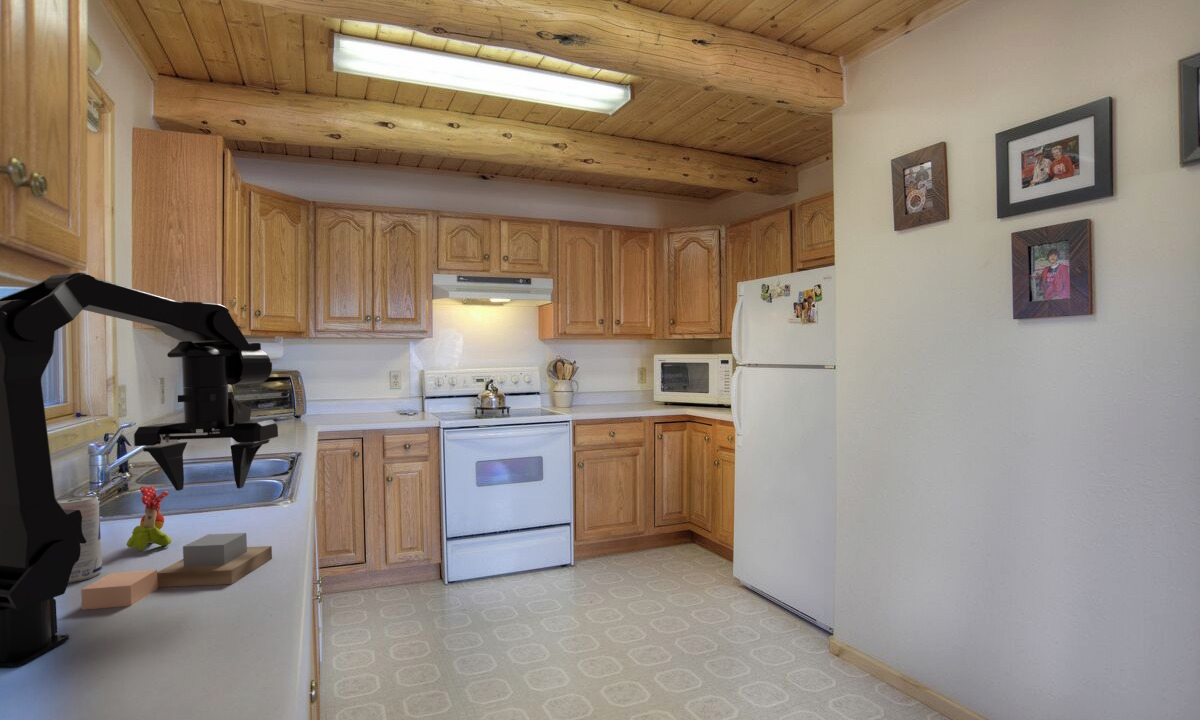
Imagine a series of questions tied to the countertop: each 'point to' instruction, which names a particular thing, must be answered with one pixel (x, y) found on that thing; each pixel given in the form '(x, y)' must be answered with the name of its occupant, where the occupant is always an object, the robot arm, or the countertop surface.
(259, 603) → the countertop surface
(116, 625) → the countertop surface
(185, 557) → the gray brick
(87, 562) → the energy drink
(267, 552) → the walnut tower base
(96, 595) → the terracotta brick
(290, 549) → the countertop surface
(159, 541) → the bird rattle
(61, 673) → the countertop surface
